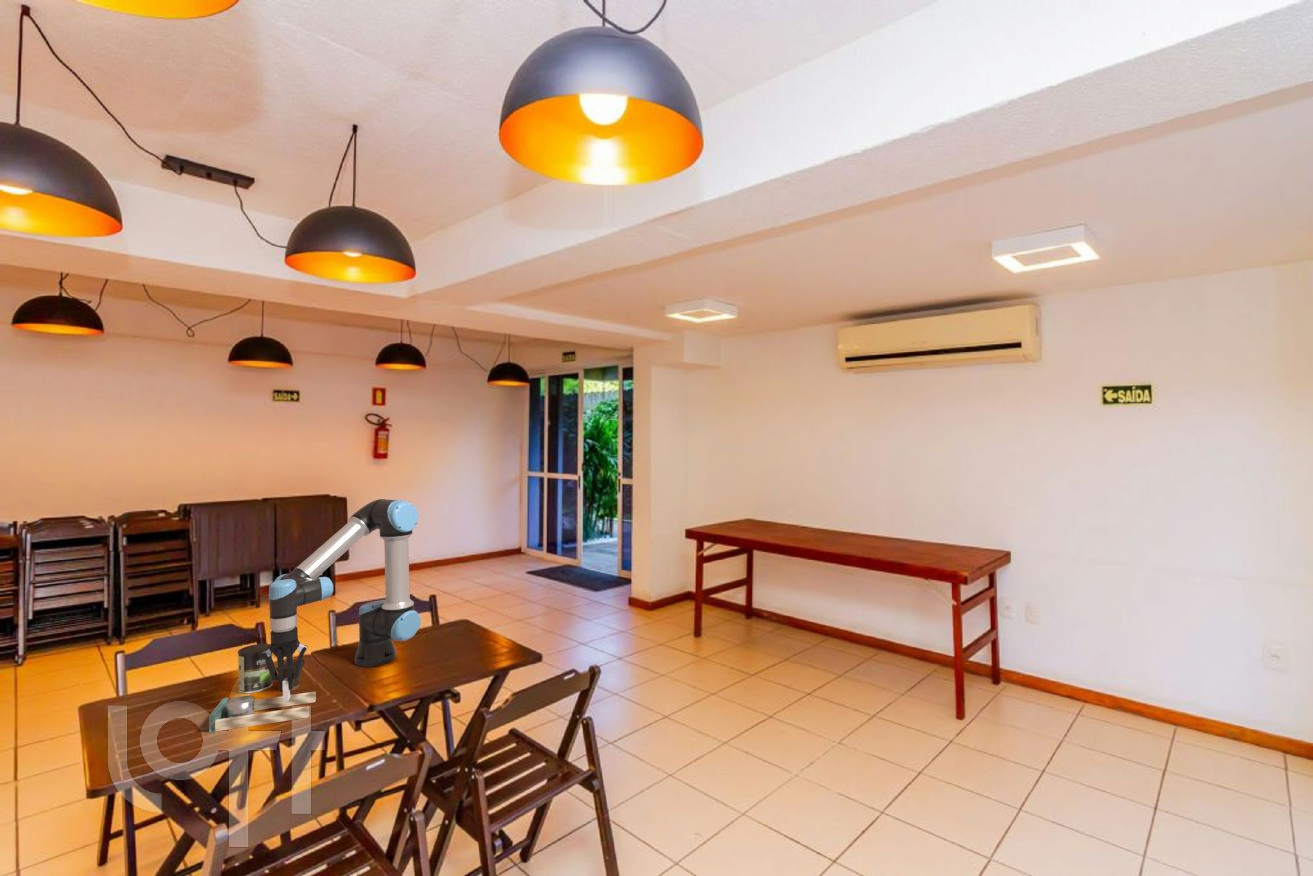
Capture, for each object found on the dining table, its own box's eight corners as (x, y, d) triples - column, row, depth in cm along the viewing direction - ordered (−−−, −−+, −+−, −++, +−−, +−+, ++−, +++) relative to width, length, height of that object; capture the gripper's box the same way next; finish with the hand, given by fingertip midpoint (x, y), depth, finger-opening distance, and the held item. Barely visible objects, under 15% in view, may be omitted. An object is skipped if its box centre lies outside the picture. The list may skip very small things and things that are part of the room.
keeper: (257, 712, 195) (256, 694, 195) (250, 722, 188) (249, 703, 188) (232, 716, 193) (231, 697, 193) (223, 726, 186) (223, 707, 186)
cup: (265, 691, 209) (269, 662, 210) (289, 685, 217) (292, 656, 218) (283, 696, 206) (287, 666, 207) (306, 689, 214) (310, 660, 215)
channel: (315, 700, 204) (315, 685, 204) (308, 717, 191) (308, 701, 191) (223, 713, 194) (222, 698, 194) (209, 732, 182) (209, 716, 182)
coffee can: (279, 682, 218) (279, 644, 218) (255, 695, 208) (255, 654, 208) (256, 680, 220) (255, 642, 220) (230, 692, 210) (230, 652, 210)
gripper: (308, 622, 201) (311, 691, 202) (263, 627, 196) (266, 698, 197) (304, 629, 194) (307, 700, 195) (257, 635, 189) (260, 708, 190)
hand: (286, 699), depth 196 cm, fingers closed
